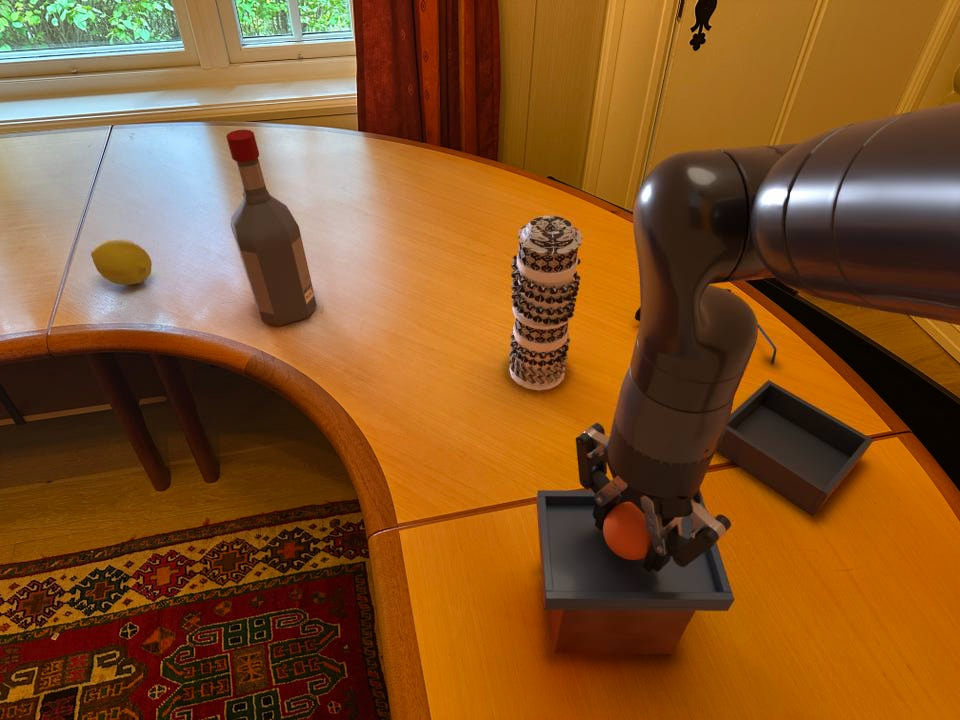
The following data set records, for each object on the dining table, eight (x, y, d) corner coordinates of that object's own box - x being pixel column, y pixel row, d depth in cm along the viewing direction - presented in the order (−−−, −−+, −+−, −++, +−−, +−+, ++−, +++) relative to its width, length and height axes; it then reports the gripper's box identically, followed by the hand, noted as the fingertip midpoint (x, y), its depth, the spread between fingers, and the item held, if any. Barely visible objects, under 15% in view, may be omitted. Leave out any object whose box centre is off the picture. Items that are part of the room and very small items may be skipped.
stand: (654, 571, 68) (678, 511, 60) (672, 654, 62) (701, 599, 53) (547, 570, 68) (557, 511, 60) (554, 653, 62) (565, 598, 53)
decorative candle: (506, 349, 95) (512, 206, 78) (565, 351, 95) (584, 207, 78) (506, 391, 89) (512, 244, 72) (569, 392, 89) (591, 246, 72)
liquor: (266, 331, 99) (211, 154, 78) (253, 301, 104) (199, 129, 84) (320, 315, 102) (281, 140, 81) (305, 287, 108) (265, 117, 87)
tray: (695, 503, 61) (700, 491, 59) (727, 611, 53) (734, 600, 51) (536, 502, 61) (537, 489, 59) (544, 609, 53) (545, 598, 51)
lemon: (169, 278, 109) (153, 240, 104) (131, 300, 104) (112, 261, 99) (130, 261, 113) (113, 223, 108) (92, 282, 109) (72, 243, 103)
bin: (858, 462, 79) (874, 439, 76) (813, 516, 73) (828, 494, 70) (758, 402, 87) (768, 379, 84) (709, 446, 81) (719, 424, 78)
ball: (665, 547, 56) (678, 516, 52) (631, 581, 53) (642, 552, 50) (622, 512, 58) (631, 481, 55) (588, 543, 56) (595, 512, 52)
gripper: (559, 390, 46) (543, 515, 57) (727, 513, 38) (669, 629, 50) (622, 347, 50) (594, 473, 61) (787, 450, 42) (719, 572, 53)
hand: (628, 542), depth 55 cm, fingers closed on ball, 5 cm apart
